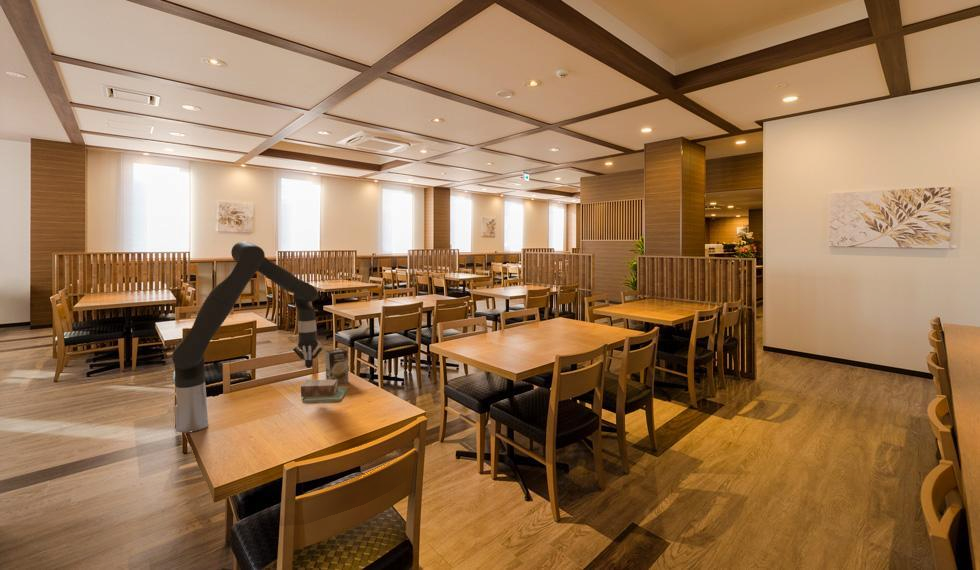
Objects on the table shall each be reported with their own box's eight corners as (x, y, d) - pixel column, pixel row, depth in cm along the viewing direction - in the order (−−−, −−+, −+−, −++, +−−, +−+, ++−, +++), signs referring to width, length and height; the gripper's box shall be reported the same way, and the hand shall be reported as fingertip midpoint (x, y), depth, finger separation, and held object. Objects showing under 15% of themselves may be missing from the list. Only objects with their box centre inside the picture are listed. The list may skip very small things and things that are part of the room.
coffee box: (330, 386, 210) (329, 353, 208) (325, 382, 215) (324, 350, 213) (349, 382, 216) (347, 350, 214) (344, 378, 220) (343, 347, 219)
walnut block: (300, 386, 192) (333, 385, 194) (306, 380, 200) (337, 379, 202) (301, 397, 193) (334, 396, 195) (306, 390, 201) (338, 389, 203)
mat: (302, 402, 189) (302, 400, 189) (313, 389, 205) (313, 387, 205) (340, 400, 191) (340, 398, 191) (348, 388, 207) (348, 386, 207)
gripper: (289, 332, 189) (291, 370, 191) (320, 331, 191) (322, 369, 193) (294, 328, 197) (296, 365, 199) (324, 327, 198) (326, 364, 200)
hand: (309, 367), depth 196 cm, fingers closed
